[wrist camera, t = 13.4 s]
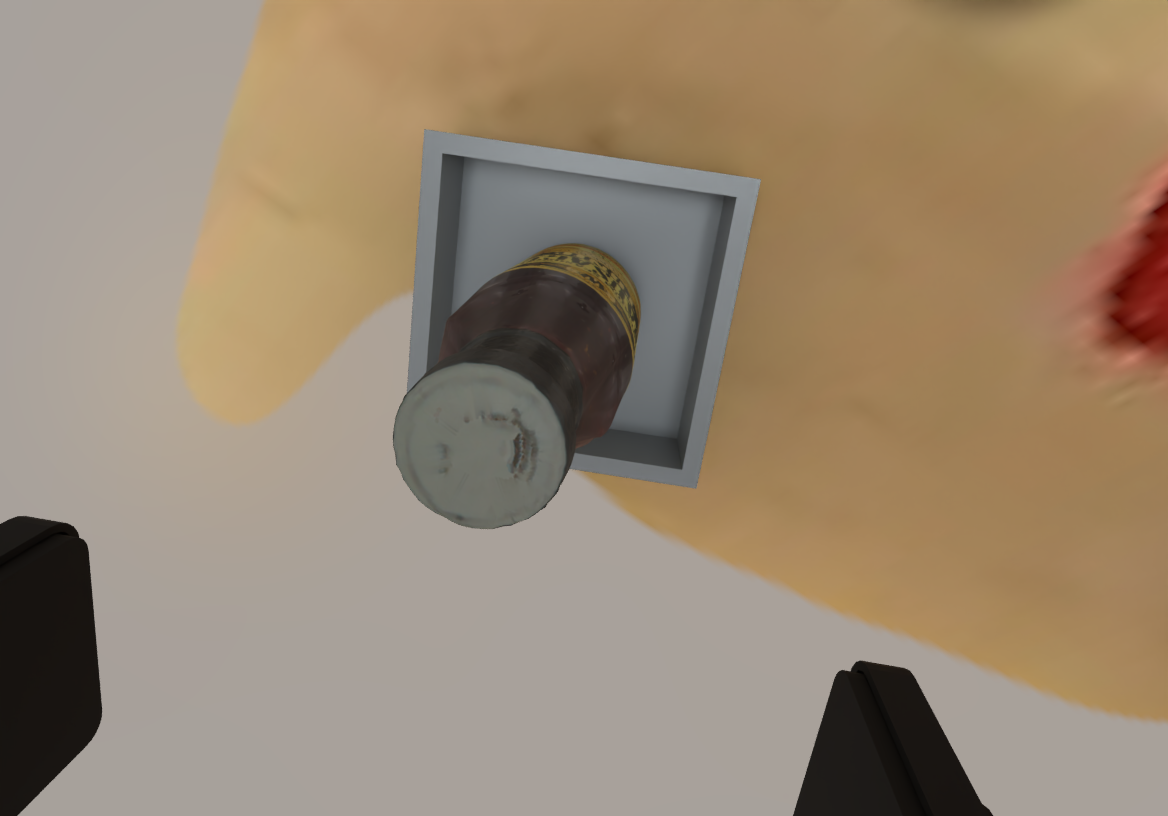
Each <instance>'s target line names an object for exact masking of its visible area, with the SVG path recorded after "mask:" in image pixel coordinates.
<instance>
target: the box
mask: <svg viewBox="0 0 1168 816" xmlns="http://www.w3.org/2000/svg"><path fill="white" fill-rule="evenodd" d="M760 181H761V179H755V178H748V177H742V176H735V175H728V174H721V173H715V172H708V171H701V170H695V169H688V168H681V167H674V166H668V165H661V164H654V163H647V162H641V161H634V160H627V159H621V158H614V157H607V156H600V155H594V154H587V153H580V152H574V151H567V150H560V149H553V148H547V147H540V146H533V145H526V144H520V143H513V142H506V141H500V140H493V139H486V138H479V137H473V136H466V135H459V134H452V133H446V132H439V131H432V130H426V129H424V143H423V158H422V173H421V188H420V203H419V218H418V233H417V248H416V263H415V278H414V293H413V308H412V309H413V310H412V323H411V338H410V339H411V340H410V354H409V369H408V383H407V393H408V391H409V390H410V389H411V388H412V387H413V386H414V385H415V384H416V383H417V382H418V381H419V380H420V379H421V378H422V377H423V376H424V374H425V373H426V372H427V371H429V370H430V369H431V368H433V367H434V366H435V365H436V364H437V363H438V361H439V354H440V348H441V344H442V339H443V335H444V330H445V325H446V321H447V320H448V318H449V317H450V316H451V315H452V314H453V313H455V312H456V311H457V310H458V309H459V308H460V307H461V306H462V305H463V304H464V303H465V302H466V301H467V300H468V299H469V298H470V297H471V296H472V295H473V294H475V293H476V292H477V291H478V290H479V289H480V288H481V287H482V286H483V285H484V284H485V283H486V282H488V281H489V280H491V279H492V278H493V277H495V276H497V275H499V274H501V273H503V272H504V271H506V270H508V269H510V268H512V267H514V266H515V265H517V264H519V263H521V262H522V261H524V260H526V259H528V258H529V257H531V256H533V255H534V254H536V253H538V252H539V251H541V250H544V249H546V248H549V247H552V246H555V245H560V244H568V243H577V244H585V245H588V246H592V247H595V248H598V249H600V250H601V251H603V252H605V253H607V254H609V255H610V256H611V257H613V258H614V259H615V260H616V261H617V262H619V263H620V264H621V265H622V266H623V268H624V269H625V270H626V271H627V273H628V274H629V275H630V277H631V279H632V280H633V282H634V284H635V287H636V289H637V292H638V296H639V299H640V304H641V318H640V327H639V334H638V339H637V346H636V353H635V360H634V365H633V371H632V376H631V380H630V383H629V386H628V388H627V390H626V392H625V394H624V395H623V397H622V400H621V402H620V404H619V407H618V409H617V412H616V414H615V417H614V419H613V422H612V424H611V426H610V428H609V429H608V431H607V432H606V433H605V434H604V435H603V436H602V437H598V438H594V439H593V440H592V441H591V442H589V443H588V444H586V445H584V446H582V447H578V448H576V449H575V453H574V457H573V460H572V463H571V466H570V469H575V470H581V471H588V472H594V473H600V474H607V475H613V476H619V477H626V478H632V479H639V480H645V481H651V482H658V483H664V484H670V485H677V486H683V487H690V488H697V483H698V478H699V473H700V469H701V464H702V459H703V454H704V449H705V445H706V440H707V435H708V430H709V426H710V421H711V416H712V411H713V406H714V402H715V397H716V392H717V387H718V382H719V378H720V373H721V368H722V363H723V359H724V354H725V349H726V344H727V339H728V335H729V330H730V325H731V320H732V315H733V311H734V306H735V301H736V296H737V291H738V287H739V282H740V277H741V272H742V268H743V263H744V258H745V253H746V248H747V244H748V239H749V234H750V229H751V224H752V220H753V215H754V210H755V205H756V201H757V196H758V191H759V186H760Z"/></svg>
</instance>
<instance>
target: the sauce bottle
mask: <svg viewBox="0 0 1168 816" xmlns="http://www.w3.org/2000/svg"><path fill="white" fill-rule="evenodd" d="M640 318H641V304H640V299H639V296H638V292H637V289H636V287H635V284H634V282H633V280H632V279H631V277H630V275H629V274H628V273H627V271H626V270H625V269H624V268H623V266H622V265H621V264H620V263H619V262H617V261H616V260H615V259H614V258H613V257H611V256H610V255H609V254H607V253H605V252H603V251H601V250H600V249H598V248H595V247H592V246H588V245H585V244H577V243H568V244H560V245H555V246H552V247H549V248H546V249H544V250H541V251H539V252H538V253H536V254H534V255H533V256H531V257H529V258H528V259H526V260H524V261H522V262H521V263H519V264H517V265H515V266H514V267H512V268H510V269H508V270H506V271H504V272H503V273H501V274H499V275H497V276H495V277H493V278H492V279H491V280H489V281H488V282H486V283H485V284H484V285H483V286H482V287H481V288H480V289H479V290H478V291H477V292H476V293H475V294H473V295H472V296H471V297H470V298H469V299H468V300H467V301H466V302H465V303H464V304H463V305H462V306H461V307H460V308H459V309H458V310H457V311H456V312H455V313H453V314H452V315H451V316H450V317H449V318H448V320H447V321H446V325H445V330H444V335H443V339H442V344H441V348H440V354H439V361H438V363H437V364H436V365H435V366H434V367H433V368H431V369H430V370H429V371H427V372H426V373H425V374H424V376H423V377H422V378H421V379H420V380H419V381H418V382H417V383H416V384H415V385H414V386H413V387H412V388H411V389H410V390H409V391H408V393H407V394H406V395H405V396H404V399H403V402H402V403H401V405H400V407H399V410H398V413H397V415H396V419H395V425H394V432H393V446H394V450H395V455H396V465H397V466H398V468H399V470H400V471H401V474H402V477H403V480H404V481H405V482H406V484H407V485H408V487H409V488H410V490H411V491H412V492H413V493H414V495H415V496H416V497H417V498H418V500H419V501H420V502H421V503H423V504H424V505H425V506H426V507H427V508H429V509H430V510H432V511H434V512H435V513H437V514H439V515H441V516H444V517H445V518H447V519H449V520H450V521H452V522H454V523H456V524H458V525H461V526H466V527H471V528H480V529H495V528H498V527H502V526H511V525H513V524H515V523H518V522H520V521H523V520H526V519H529V518H530V517H531V516H533V515H535V514H536V513H537V512H539V511H540V510H542V509H543V508H545V507H546V505H547V503H548V502H549V501H550V500H551V499H552V498H553V497H554V496H555V495H556V493H557V492H558V490H559V487H560V485H561V483H562V482H563V480H564V478H565V476H566V474H567V472H568V470H569V469H570V466H571V463H572V460H573V457H574V453H575V449H576V448H578V447H582V446H584V445H586V444H588V443H589V442H591V441H592V440H593V439H594V438H598V437H602V436H603V435H604V434H605V433H606V432H607V431H608V429H609V428H610V426H611V424H612V422H613V419H614V417H615V414H616V412H617V409H618V407H619V404H620V402H621V400H622V397H623V395H624V394H625V392H626V390H627V388H628V386H629V383H630V380H631V376H632V371H633V365H634V360H635V353H636V346H637V339H638V334H639V327H640Z"/></svg>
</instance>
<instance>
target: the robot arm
mask: <svg viewBox="0 0 1168 816" xmlns="http://www.w3.org/2000/svg"><path fill="white" fill-rule="evenodd" d="M101 717H102V703H101V693H100V680H99V668H98V657H97V645H96V633H95V621H94V609H93V599H92V586H91V574H90V563H89V551H88V546H87V544H86V542H85V541H84V540H83V539H81V538H79V534H78V532H77V530H76V529H75V528H74V526H71V525H70V524H68V523H62V522H56V521H51V520H45V519H39V518H34V517H27V516H17V517H15V518H12V519H9V520H7V521H5V522H3V523H2V524H0V816H17V815H18V814H19V813H20V812H21V811H22V810H23V809H24V808H25V807H26V806H27V805H28V804H29V803H30V802H31V801H32V800H33V799H34V798H35V797H36V796H37V795H38V794H39V793H40V792H41V791H42V790H43V789H44V788H45V787H46V786H47V785H48V784H49V783H50V782H51V781H52V780H53V779H54V778H55V777H56V776H57V775H58V774H59V773H60V772H61V771H62V770H63V769H64V768H65V767H66V766H67V765H68V764H69V763H70V762H71V761H72V760H73V759H74V758H75V757H76V756H77V755H78V754H79V753H80V752H81V751H82V750H83V749H84V748H85V747H86V746H87V745H88V743H89V742H90V741H91V740H92V738H93V737H94V735H95V733H96V732H97V729H98V727H99V724H100V721H101ZM793 816H993V815H992V813H991V812H990V810H989V809H988V808H987V807H985V806H984V805H983V804H982V803H981V801H980V799H979V798H978V796H977V794H976V792H975V790H974V788H973V786H972V784H971V783H970V781H969V779H968V777H967V775H966V773H965V771H964V769H963V767H962V766H961V764H960V762H959V760H958V758H957V756H956V754H955V753H954V751H953V749H952V747H951V745H950V743H949V741H948V739H947V737H946V735H945V734H944V732H943V730H942V728H941V726H940V724H939V722H938V720H937V719H936V717H935V715H934V713H933V711H932V709H931V707H930V705H929V704H928V702H927V700H926V698H925V696H924V694H923V692H922V690H921V688H920V687H919V685H918V683H917V681H916V679H915V677H914V676H913V674H912V673H911V672H910V671H909V670H907V669H905V668H900V667H895V666H889V665H883V664H877V663H871V662H866V661H858V662H856V663H855V664H854V666H853V667H852V669H851V671H844V670H841V671H839V672H838V673H837V674H836V677H835V679H834V682H833V686H832V689H831V692H830V696H829V698H828V702H827V705H826V709H825V712H824V715H823V718H822V722H821V725H820V728H819V732H818V735H817V738H816V741H815V745H814V748H813V751H812V755H811V758H810V761H809V765H808V768H807V771H806V775H805V778H804V781H803V784H802V788H801V791H800V794H799V798H798V801H797V804H796V808H795V811H794V814H793Z"/></svg>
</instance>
